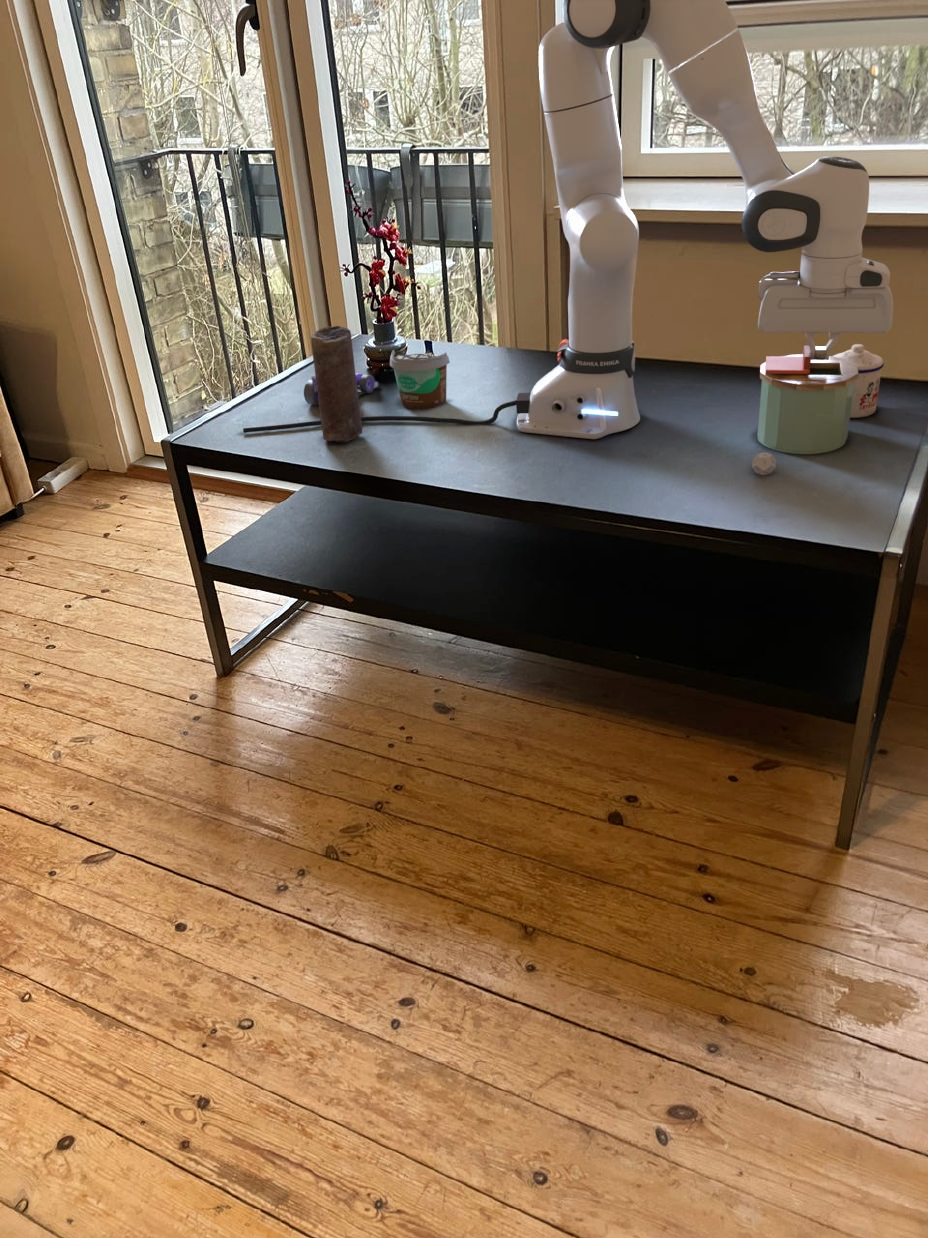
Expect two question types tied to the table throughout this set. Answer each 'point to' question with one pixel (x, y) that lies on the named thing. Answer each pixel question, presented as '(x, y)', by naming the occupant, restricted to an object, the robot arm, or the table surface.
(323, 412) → the candle
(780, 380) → the round tan lid
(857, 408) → the teacup with lid
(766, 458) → the game die
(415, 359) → the food container
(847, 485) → the table surface
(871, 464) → the table surface
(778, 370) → the slider
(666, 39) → the robot arm
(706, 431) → the table surface
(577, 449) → the table surface
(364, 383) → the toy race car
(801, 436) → the green round box
